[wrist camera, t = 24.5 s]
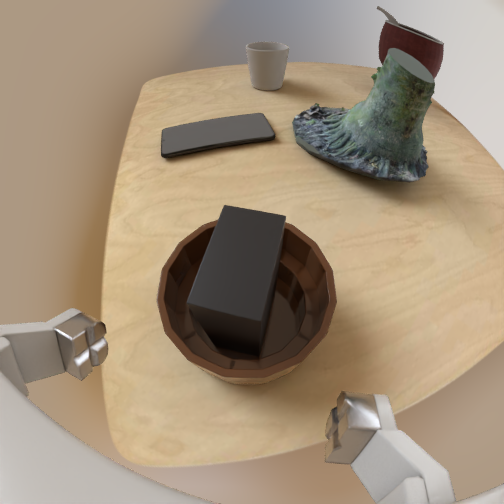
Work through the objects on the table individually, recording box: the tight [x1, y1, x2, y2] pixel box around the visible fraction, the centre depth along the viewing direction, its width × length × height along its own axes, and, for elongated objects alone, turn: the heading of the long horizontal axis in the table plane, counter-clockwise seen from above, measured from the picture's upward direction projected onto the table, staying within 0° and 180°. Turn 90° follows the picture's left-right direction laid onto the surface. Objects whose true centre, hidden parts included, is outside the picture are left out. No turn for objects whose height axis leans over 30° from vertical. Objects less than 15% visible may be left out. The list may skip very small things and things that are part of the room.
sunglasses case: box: [187, 205, 286, 357], centre depth 17 cm, size 4×6×9 cm, turn 166°
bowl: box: [157, 220, 337, 384], centre depth 19 cm, size 11×11×6 cm
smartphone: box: [161, 113, 275, 158], centre depth 34 cm, size 7×1×15 cm
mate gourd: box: [377, 6, 444, 78], centre depth 37 cm, size 16×14×20 cm
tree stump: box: [292, 48, 435, 182], centre depth 28 cm, size 18×20×18 cm
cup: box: [246, 42, 289, 90], centre depth 41 cm, size 8×10×8 cm
